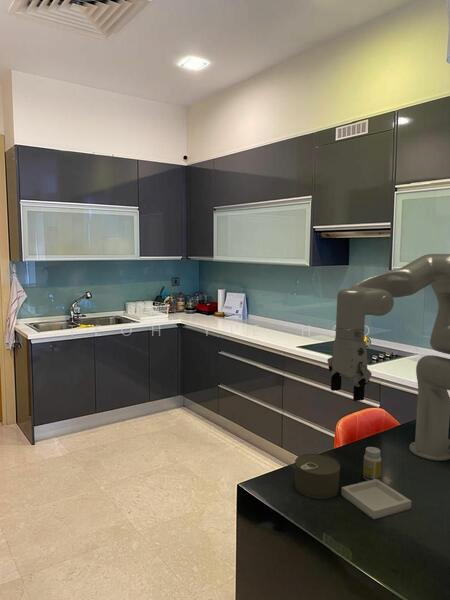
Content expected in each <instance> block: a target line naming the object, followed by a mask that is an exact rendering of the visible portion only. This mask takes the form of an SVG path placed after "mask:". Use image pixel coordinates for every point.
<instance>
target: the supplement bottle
mask: <svg viewBox="0 0 450 600" xmlns="http://www.w3.org/2000/svg"><path fill="white" fill-rule="evenodd" d="M362 468H363V469H362V470H363V471H362V472H363V474H362V477H363V479H364V480H365V481H370V480H374V479H378V480H379V481H381V477H382V457H381V449H379V448H378V447H374V446H366V448H365V454H364V456H363V467H362Z"/></svg>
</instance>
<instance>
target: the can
mask: <svg viewBox="0 0 450 600" xmlns="http://www.w3.org/2000/svg"><path fill="white" fill-rule="evenodd" d="M294 465H295V472H294V473H295V478H294V479H295V480H294V482H295V483H294V486H295V487H294V488H295V489H296V491H297V492H298V493H300V494H301V495H303V496H305V497H308V498H311V499H318V500H326V499H332V498H334V497H336V496H337V495H338V493H339V490H340V489H339V486H340V484H339V483H340V472H341V463H339V461H338V460H336V459H335V458H333V457H330V456H328V455H324V454H319V453H307V454H301V455H300V456H298V457H296V459H295V461H294Z"/></svg>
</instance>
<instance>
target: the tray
mask: <svg viewBox="0 0 450 600" xmlns="http://www.w3.org/2000/svg"><path fill="white" fill-rule="evenodd" d="M340 492H341V493H340V495H341V496H342V497H343V498H345V500H347V501H349V502H350V503H351V504H352V505H354V506H355V507H356V508H358V509H359V510H360V511H361V512H362V513H364V514H366V515H367V516H368V517H370V518H371V519H372V520H377V519H378V520H379V519H380V518H383V517H388V516H392V515H394V514H398V513H402V512H405V511H408V510H411V509H412V500H411V499H410V498H407V497H406V496H405V495H403V494H402V493H400V492H398V491H397V490H395V489H394V488H392V487H391V486H389V485H387V484H386V483H384V482H382V481H381V480H380V481H379V480H378V479H374V480H370V481H368V480H365V481H361V482H358V483H354V484H349V485H345V486H342V487H341V491H340Z"/></svg>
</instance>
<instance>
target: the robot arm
mask: <svg viewBox="0 0 450 600" xmlns="http://www.w3.org/2000/svg"><path fill="white" fill-rule="evenodd" d="M428 286H431V288H432V290H433V292H434V294H435V297H436V300H437V304H438V306H437V307H438V309H437V313H436V317H435V320H434V324H433V328H432V330H431V335H430V339H429V345H430V347H431V349H432V350H433V351H436V352H438V353H442V354H446V355H450V253H428V254H424V255H422V256H420V257H418V258H416V259H414V260H412V261H410V262H409V263H407V264H406V265H403V266H402V267H400V268H398V269H395V270H391V271H386V272H384V273H381V274H378V275H375V276H371V277H368V278H366V279H365V278H364V279H363V280H361V281H359V282H358V283H355V284H353V285H352V286H350V288H345V289H343V288H342V289H340V290H338V292H337V296H336V297H337V298H336V318H335V320H336V321H335V336H334V341H333V348H332V354H331V355H332V356H331V357H329V358H327V365H328V370H329V376H330V379H331V380H330V391H331V392H334V391H341V390H342V376H341V375H343V376H346V377H348V378H351V379H352V380H353V382H354V386H353V395H352V396H353V398H352V399H353V401H354V402H358V401H359V402H360V401H364V400H365V388H366V387H367V384H368V383H369V382H370V379H371V377H372V373H373V372H371V371H370V369H368V349H367V344H366V341H365V340H364V339H365V323H366V321H365V320H366V316H375V317H382V316H386V315H387V314H389V313H390V312H391V311H392V310H393V308H394V304H395V301H394V299H396V298H404V297H408V296H412V295H415V294H416V293H418V292H419V291H421V290H423V289H425V288H427V287H428ZM415 373H416V374H415V375H416V380H417V382H416V383H417V405H416V420H415V421H416V422H415V438H414V441H413V442H411V443H410V444H409V450H410V453H412V454H414V455H415V456H417V457H420V458H423V459H426V460H431V461H438V462H439V461H441V462H442V461H448V460H450V438H449V433H450V432H449V428H450V394H449V391H450V358H449V357H443V356H439V355H432V354H431V355H424V356H422V357H421V358H420V359H419V360H418V361H417V364H416V367H415Z"/></svg>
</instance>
